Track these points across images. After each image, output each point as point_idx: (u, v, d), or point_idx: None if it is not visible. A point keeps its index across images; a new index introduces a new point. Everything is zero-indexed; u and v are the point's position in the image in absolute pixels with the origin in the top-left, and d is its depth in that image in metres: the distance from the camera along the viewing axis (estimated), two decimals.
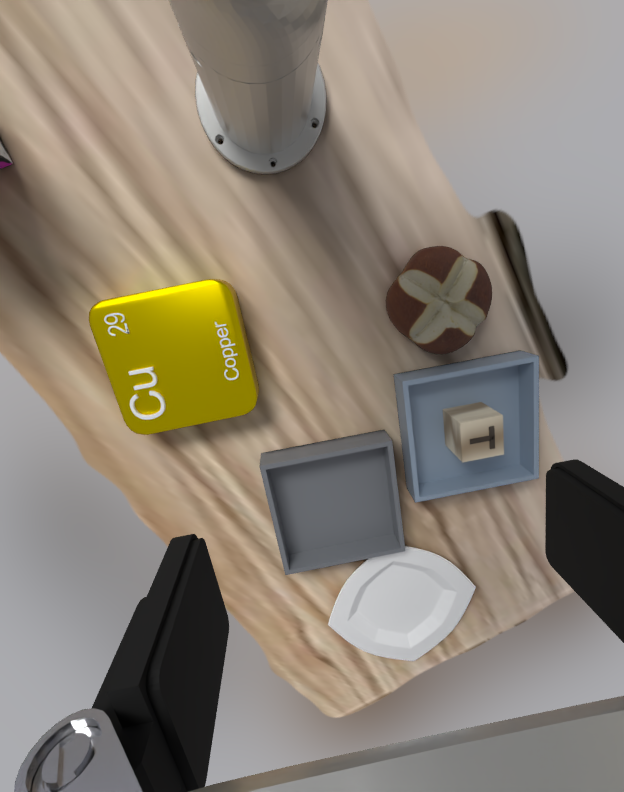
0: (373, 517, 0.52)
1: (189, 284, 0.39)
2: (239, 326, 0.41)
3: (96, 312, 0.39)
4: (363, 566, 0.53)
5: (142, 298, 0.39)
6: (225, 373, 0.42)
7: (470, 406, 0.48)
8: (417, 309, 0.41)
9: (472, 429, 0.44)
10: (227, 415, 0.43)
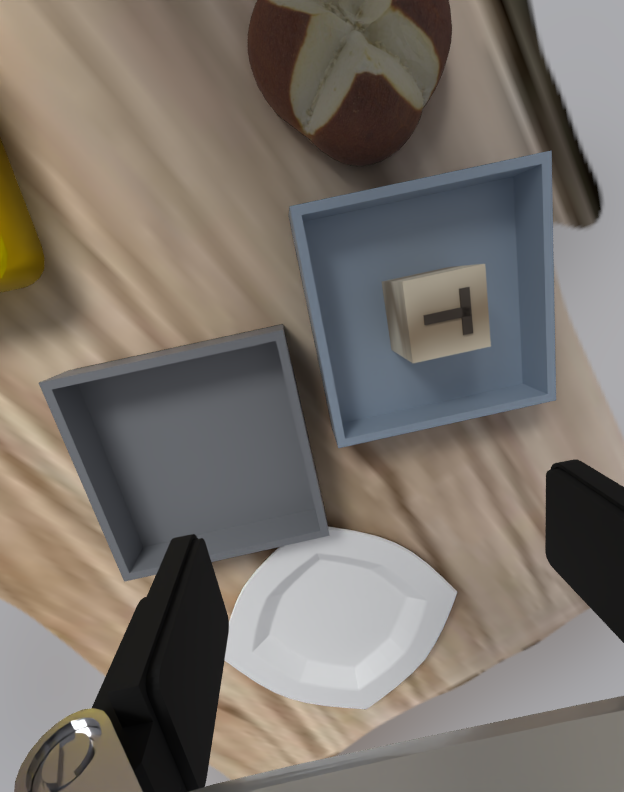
0: (279, 482, 0.31)
1: None
2: None
3: None
4: (268, 563, 0.32)
5: None
6: None
7: (430, 271, 0.27)
8: (293, 30, 0.20)
9: (427, 295, 0.23)
10: None
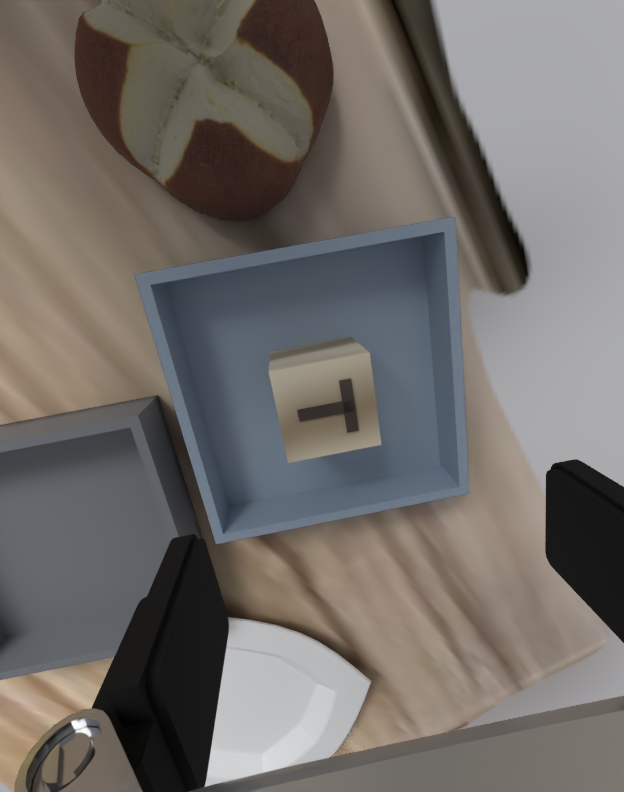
0: None
1: None
2: None
3: None
4: None
5: None
6: None
7: (325, 343, 0.23)
8: (112, 63, 0.16)
9: (300, 387, 0.19)
10: None
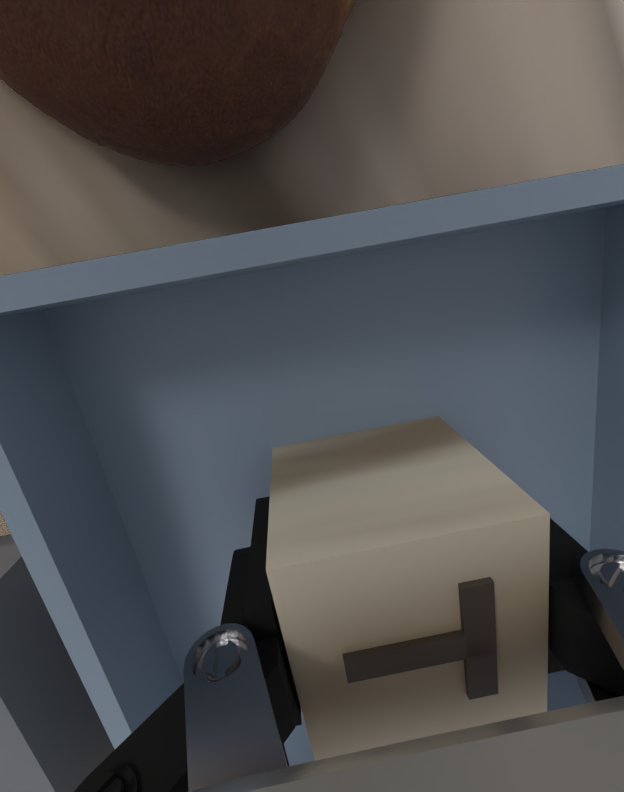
0: None
1: None
2: None
3: None
4: None
5: None
6: None
7: (389, 435, 0.11)
8: None
9: (353, 602, 0.07)
10: None
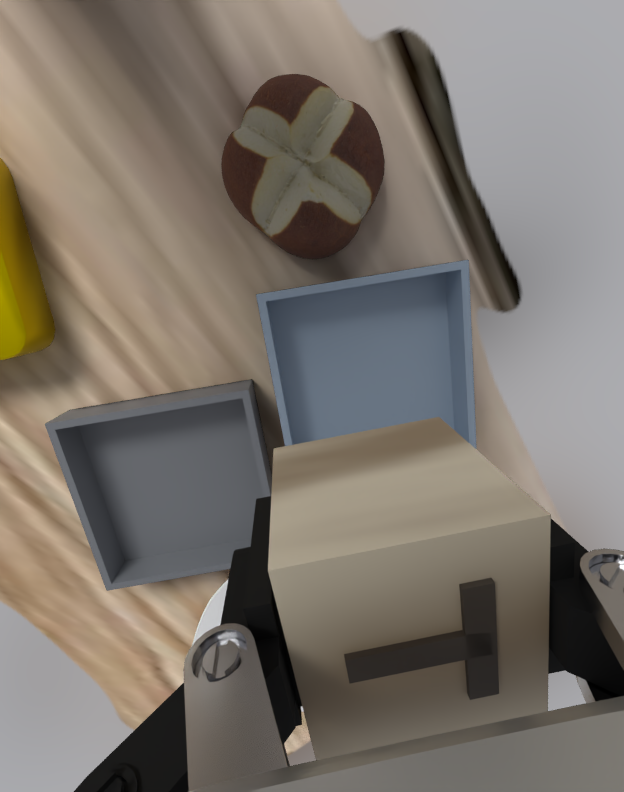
0: (245, 510, 0.37)
1: None
2: None
3: None
4: None
5: None
6: None
7: (390, 436, 0.11)
8: (254, 167, 0.26)
9: (355, 603, 0.07)
10: None
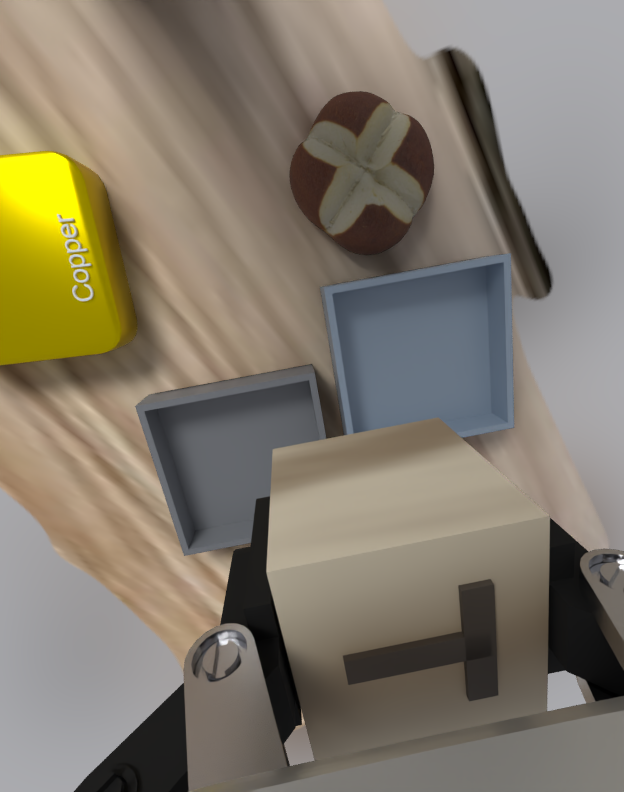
0: None
1: (20, 154, 0.28)
2: (94, 225, 0.30)
3: None
4: None
5: None
6: (74, 290, 0.30)
7: (389, 437, 0.11)
8: (324, 175, 0.29)
9: (353, 604, 0.07)
10: (79, 351, 0.32)
